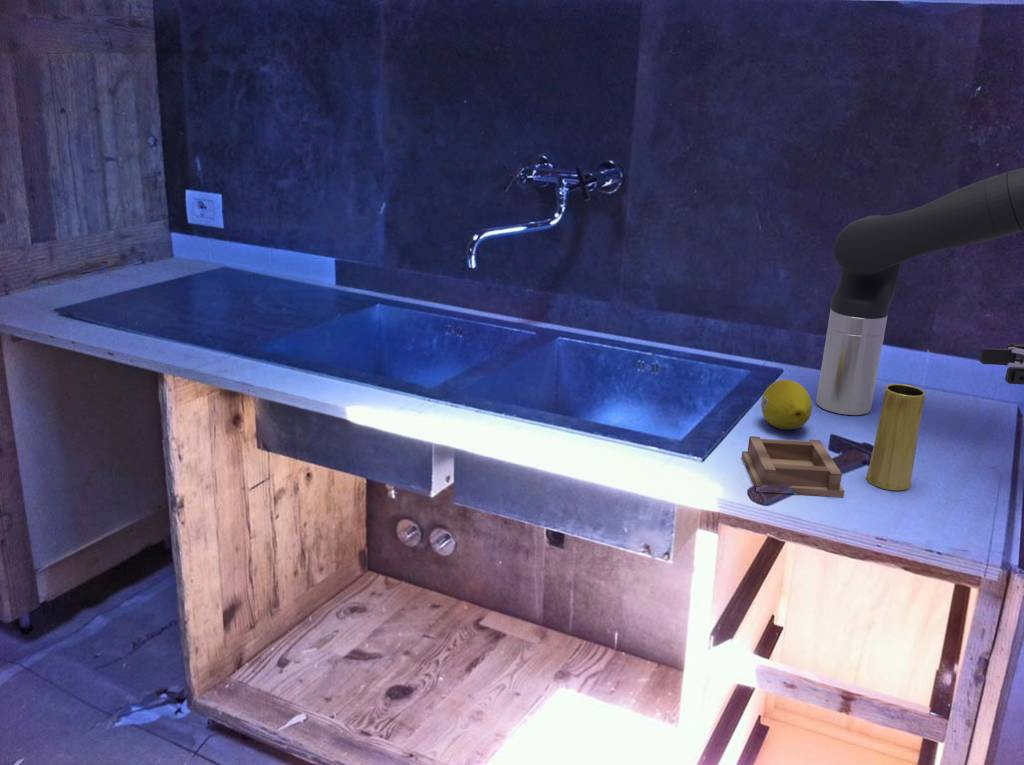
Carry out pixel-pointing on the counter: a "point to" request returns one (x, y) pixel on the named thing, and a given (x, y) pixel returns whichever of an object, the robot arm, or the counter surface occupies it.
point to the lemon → (786, 405)
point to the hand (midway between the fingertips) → (993, 365)
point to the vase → (896, 438)
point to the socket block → (793, 466)
